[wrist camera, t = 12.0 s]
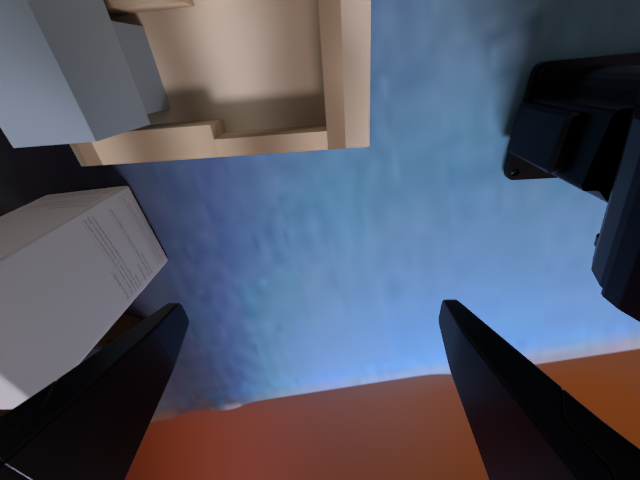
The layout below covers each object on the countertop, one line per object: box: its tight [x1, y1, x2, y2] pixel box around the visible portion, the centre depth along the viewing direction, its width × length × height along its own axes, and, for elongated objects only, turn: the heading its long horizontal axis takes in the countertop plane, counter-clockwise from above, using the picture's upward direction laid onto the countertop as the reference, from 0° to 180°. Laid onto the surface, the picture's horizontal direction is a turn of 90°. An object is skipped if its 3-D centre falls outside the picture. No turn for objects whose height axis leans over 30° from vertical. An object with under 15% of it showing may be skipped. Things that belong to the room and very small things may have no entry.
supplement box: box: [0, 186, 168, 409], centre depth 18 cm, size 7×7×13 cm
